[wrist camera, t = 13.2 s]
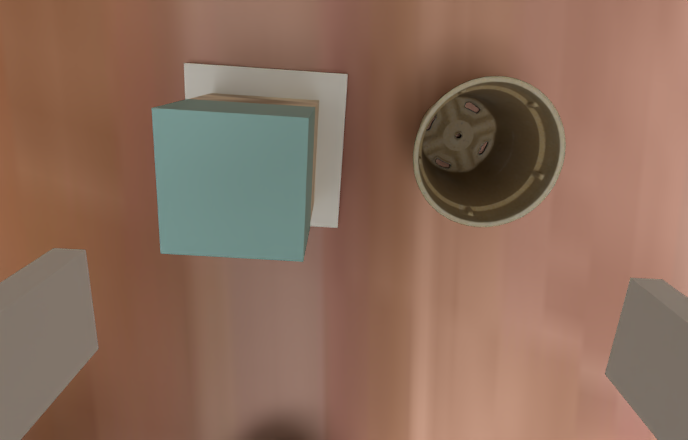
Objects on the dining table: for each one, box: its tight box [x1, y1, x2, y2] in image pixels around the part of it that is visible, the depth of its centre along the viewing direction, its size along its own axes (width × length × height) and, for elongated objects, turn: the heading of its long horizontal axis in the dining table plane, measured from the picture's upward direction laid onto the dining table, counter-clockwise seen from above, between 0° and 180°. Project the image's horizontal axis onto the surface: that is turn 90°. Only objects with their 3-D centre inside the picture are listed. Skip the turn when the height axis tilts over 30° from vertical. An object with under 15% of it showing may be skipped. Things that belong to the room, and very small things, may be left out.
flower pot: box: [413, 76, 565, 227], centre depth 34 cm, size 9×9×9 cm
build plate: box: [184, 63, 348, 228], centre depth 38 cm, size 12×12×1 cm
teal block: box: [152, 99, 315, 262], centre depth 29 cm, size 8×8×6 cm
